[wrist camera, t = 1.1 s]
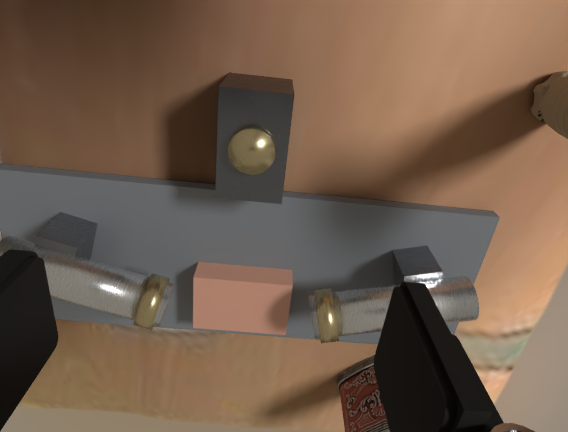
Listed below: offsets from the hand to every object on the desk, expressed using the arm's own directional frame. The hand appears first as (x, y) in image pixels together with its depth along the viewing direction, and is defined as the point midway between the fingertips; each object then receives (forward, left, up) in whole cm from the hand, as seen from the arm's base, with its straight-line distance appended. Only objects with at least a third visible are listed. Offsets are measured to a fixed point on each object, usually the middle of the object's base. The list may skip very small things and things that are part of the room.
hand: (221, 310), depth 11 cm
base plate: (+11, 0, -18) cm, 21 cm away
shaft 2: (+10, +10, -18) cm, 23 cm away
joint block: (0, 0, -19) cm, 19 cm away
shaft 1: (+10, -10, -18) cm, 23 cm away
